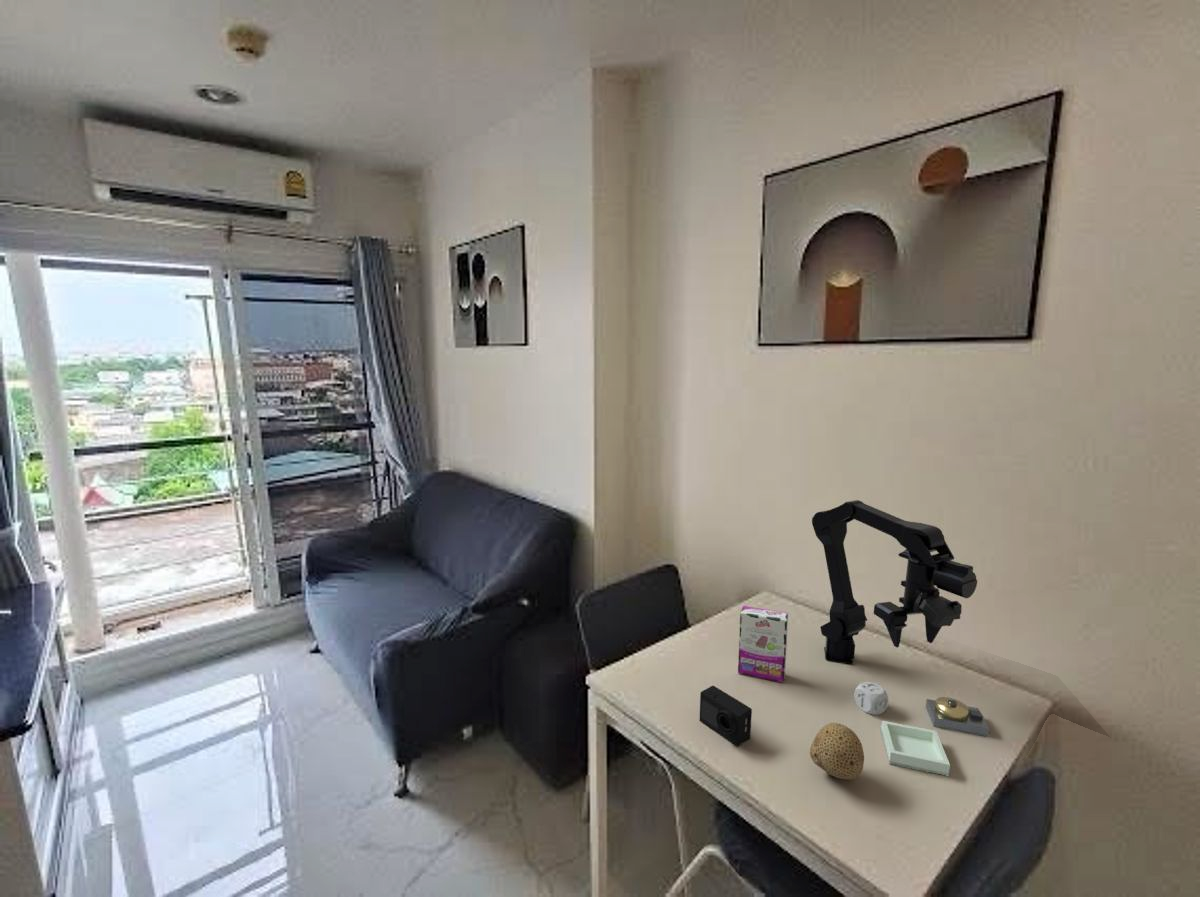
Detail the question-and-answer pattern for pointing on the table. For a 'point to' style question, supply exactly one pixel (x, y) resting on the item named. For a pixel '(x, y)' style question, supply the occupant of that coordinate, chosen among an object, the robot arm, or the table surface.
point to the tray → (914, 748)
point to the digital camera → (725, 715)
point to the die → (871, 698)
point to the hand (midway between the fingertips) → (912, 644)
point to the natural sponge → (838, 751)
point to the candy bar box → (763, 643)
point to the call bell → (956, 716)
